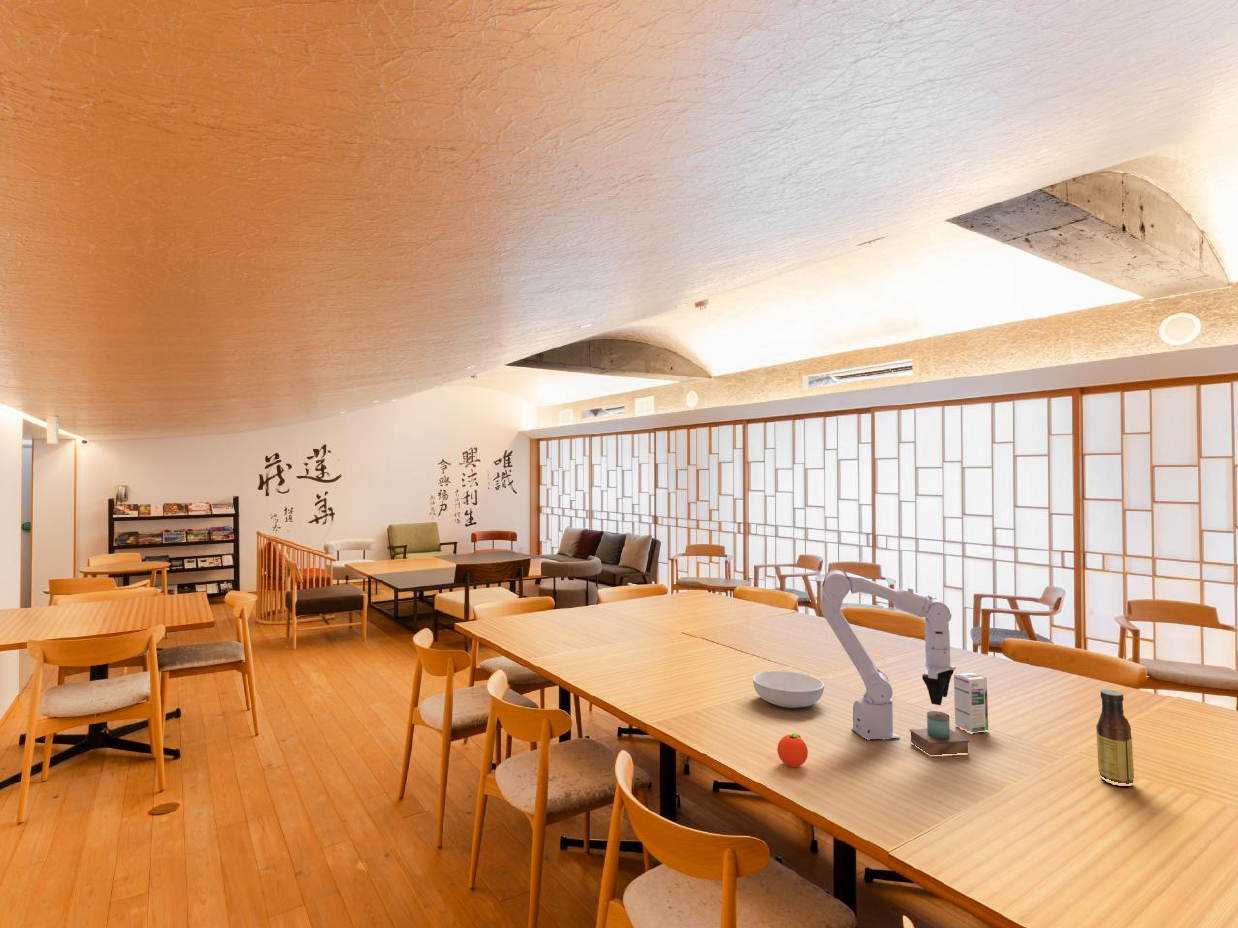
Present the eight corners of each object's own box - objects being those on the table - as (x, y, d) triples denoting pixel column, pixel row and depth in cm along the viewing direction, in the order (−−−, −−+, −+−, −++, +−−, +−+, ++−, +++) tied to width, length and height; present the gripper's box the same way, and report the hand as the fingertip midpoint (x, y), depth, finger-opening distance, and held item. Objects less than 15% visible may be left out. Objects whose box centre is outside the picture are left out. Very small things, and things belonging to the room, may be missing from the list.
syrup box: (971, 734, 167) (970, 679, 167) (953, 726, 173) (953, 672, 173) (988, 732, 168) (988, 677, 169) (970, 724, 174) (970, 671, 175)
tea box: (930, 759, 152) (930, 742, 153) (909, 745, 161) (909, 729, 161) (969, 756, 154) (969, 740, 154) (947, 743, 162) (947, 727, 162)
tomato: (786, 755, 153) (786, 725, 153) (814, 763, 149) (814, 732, 149) (772, 766, 147) (772, 735, 147) (800, 775, 142) (800, 743, 143)
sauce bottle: (1118, 775, 144) (1116, 687, 144) (1141, 788, 137) (1139, 696, 138) (1090, 775, 143) (1088, 687, 144) (1112, 788, 137) (1110, 696, 138)
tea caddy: (935, 739, 155) (934, 718, 155) (923, 731, 160) (922, 711, 160) (954, 738, 155) (953, 717, 155) (941, 730, 160) (941, 710, 160)
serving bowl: (828, 718, 178) (828, 693, 179) (752, 712, 182) (752, 688, 183) (820, 694, 199) (820, 672, 199) (752, 689, 203) (752, 668, 203)
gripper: (949, 655, 155) (951, 711, 155) (959, 643, 167) (961, 695, 166) (918, 651, 159) (920, 705, 159) (930, 639, 171) (932, 690, 170)
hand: (939, 700), depth 163 cm, fingers open, 7 cm apart
